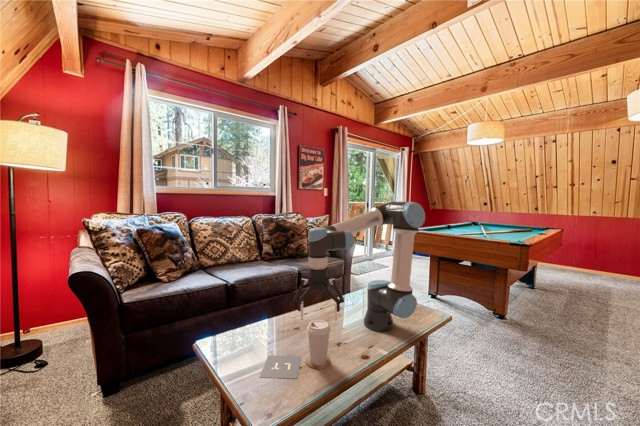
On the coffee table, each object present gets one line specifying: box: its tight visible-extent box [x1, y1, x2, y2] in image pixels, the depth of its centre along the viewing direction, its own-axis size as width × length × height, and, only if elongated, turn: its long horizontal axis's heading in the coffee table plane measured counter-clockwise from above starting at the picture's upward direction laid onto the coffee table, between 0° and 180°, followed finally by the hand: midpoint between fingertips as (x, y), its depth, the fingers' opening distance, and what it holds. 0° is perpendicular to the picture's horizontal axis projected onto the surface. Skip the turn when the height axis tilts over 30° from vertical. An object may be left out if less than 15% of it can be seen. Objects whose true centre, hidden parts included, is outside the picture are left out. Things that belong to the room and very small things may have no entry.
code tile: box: [259, 354, 302, 380], centre depth 107 cm, size 14×14×1 cm
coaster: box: [305, 354, 331, 370], centre depth 110 cm, size 10×10×1 cm
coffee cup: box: [306, 319, 332, 365], centre depth 110 cm, size 10×10×15 cm
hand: (318, 319), depth 110 cm, fingers open, 13 cm apart
